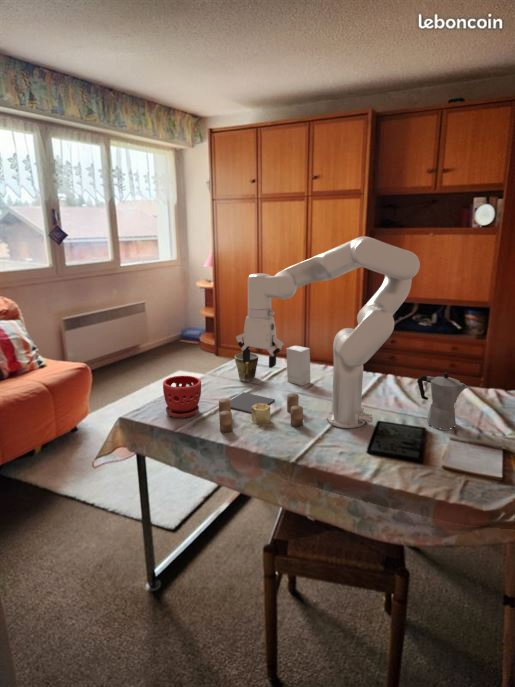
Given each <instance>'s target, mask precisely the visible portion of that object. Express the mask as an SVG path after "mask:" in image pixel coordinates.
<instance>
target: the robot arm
mask: <svg viewBox="0 0 515 687" xmlns="http://www.w3.org/2000/svg"><path fill="white" fill-rule="evenodd" d="M361 267H362V268H365V269H367V270H369V271H372V272H376V273H379V274H381V275H384V278H383V282H382V284H381V285H380V287H379V288H378V289H377V290H376V292H375V293H374V294H373V295H372V296H371V298H370V299H369V300H368V301H367V302H366V304H364V305H363V307H362V308H361V309H359V312H358V313H357V315H356V321H357V326H355V328H351V327H346V328H342V329H341V330H339V331H338V332H336V335H335V336H334V339H333V344H332V345H333V346H332V348H333V349H332V350H333V351H332V354H333V374H332V377H333V378H332V399H331V400H332V402H331V403H332V404H331V411H330V412H328V413H327V415H326V421H327V422H328V423H330V424H331V425H332V426H335V427H337V428H342V429H357V428H359V427H362V426H363V425H364V424H365V423H373V421H374V416H372V414H371V413H367V412H364V407H362V396H363V380H364V379H363V378H364V364H366V363H367V362H369V360H370V359H371V358H372V357H373V356H374V355H375V354H376V353H377V351H378V350H379V349H380V348H381V347H382V346H383V345H384V343H385V342H386V341H387V340H388V339H389V338H390V336H391V335H392V333H393V332H394V328H395V319H394V317H393V316H394V315H395V313H396V312H397V311H398V310H399V308H400V307H401V306H402V305H403V303H404V302H405V300H406V299H407V297H408V296H409V294H410V290H411V288H412V281H413V278H414V277H415V276H416V275H417V274H418V273H419V271H420V267H421V263H420V259H419V257H418V255H417V254H415V253H414V252H413V251H410V250H407V249H404V248H400V247H398V246H396V245H392V244H389V243H386V242H384V241H382V240H379V239H376V238H373V237H370V236H358V237H356V238H353V239H351V240H349V241H347V242H344V243H341V244H340V245H337V246H336V247H333V248H331V249H329V250H327V251H324V252H322V253H319V254H316V255H314V256H312V257H311V258H308V259H306V260H303V261H301V262H298V263H295V264H293V265H291V266H289V267H287V268H284V269H283V270H280V271H279V272H277V273H276V274H274V275H271V274H268V273H260V272H259V273H258V272H257V273H251V274H249V275H248V277H247V316H246V317H245V321H244V326H243V327H244V328H243V333H241V334H238V335H236V336H235V338H236V341H237V344H238V346H239V347H240V350H241V351H242V353H243V362H244V363H246V362H248V361H250V353H251V349H250V348H254V349H260V350H266V351H267V352H268V354H269V357H268V368H269V369H272V368H274V367H275V366H276V364H277V355H278V354H279V353H280V352H282V349H283V347H284V345H285V343H284V342H283V341H282V340H280V339H279V338H278V337H277V329H276V328H277V327H276V321H275V317H273V316H275V314H276V312H275V311H274V310H273V308H272V299H279V300H286V299H287V300H288V299H291V298H292V297H293V296H295V294H296V292H297V289H299V288H301V287H304V286H307V285H309V284H312V283H315V282H316V283H317V282H325V281H331V280H333V279H336V278H339V277H342V275H344V274H347V273H349V272H351V271H354V270H357V269H359V268H361ZM276 346H277V347H276ZM356 427H357V428H356Z"/></svg>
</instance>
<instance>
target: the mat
mask: <svg viewBox="0 0 515 687" xmlns="http://www.w3.org/2000/svg"><path fill="white" fill-rule="evenodd" d="M229 400H230V404H231V410H236V411H240V412H244V413H246V414H247V413H248V414H251V407H252V406H253V405H255V404H267V405H268V406H270V405H271V404H273V403H274V402H275V400H276V399H275V398H271V397H267V396H261V395H257V394H253V393H248V392H241V393H239V394H238V395H236V396H235V397H233V398H231V399H229Z"/></svg>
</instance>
